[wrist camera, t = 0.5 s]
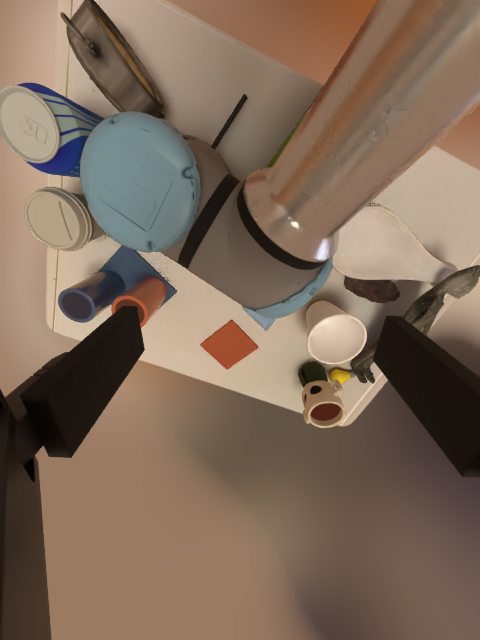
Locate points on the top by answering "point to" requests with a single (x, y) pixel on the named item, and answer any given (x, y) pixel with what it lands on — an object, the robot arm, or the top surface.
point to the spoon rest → (385, 250)
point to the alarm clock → (111, 61)
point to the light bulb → (341, 375)
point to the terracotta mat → (229, 345)
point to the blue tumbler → (91, 296)
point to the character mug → (320, 397)
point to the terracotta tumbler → (143, 297)
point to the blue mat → (133, 269)
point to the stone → (373, 289)
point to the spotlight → (260, 319)
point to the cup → (333, 333)
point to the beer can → (45, 128)
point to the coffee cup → (61, 219)
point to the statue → (423, 312)
